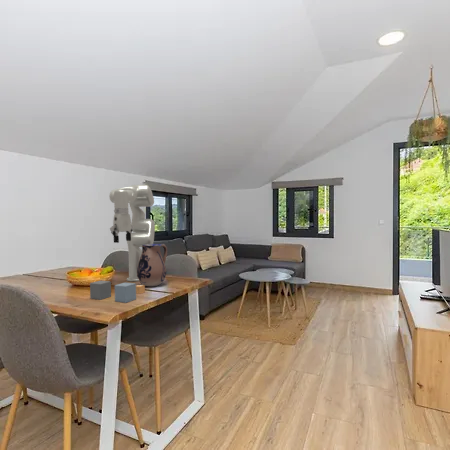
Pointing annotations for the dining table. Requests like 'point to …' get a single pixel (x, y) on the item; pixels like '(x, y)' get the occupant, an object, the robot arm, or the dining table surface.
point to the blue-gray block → (125, 292)
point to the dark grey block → (100, 290)
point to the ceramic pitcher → (152, 265)
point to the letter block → (140, 289)
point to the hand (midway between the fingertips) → (122, 241)
